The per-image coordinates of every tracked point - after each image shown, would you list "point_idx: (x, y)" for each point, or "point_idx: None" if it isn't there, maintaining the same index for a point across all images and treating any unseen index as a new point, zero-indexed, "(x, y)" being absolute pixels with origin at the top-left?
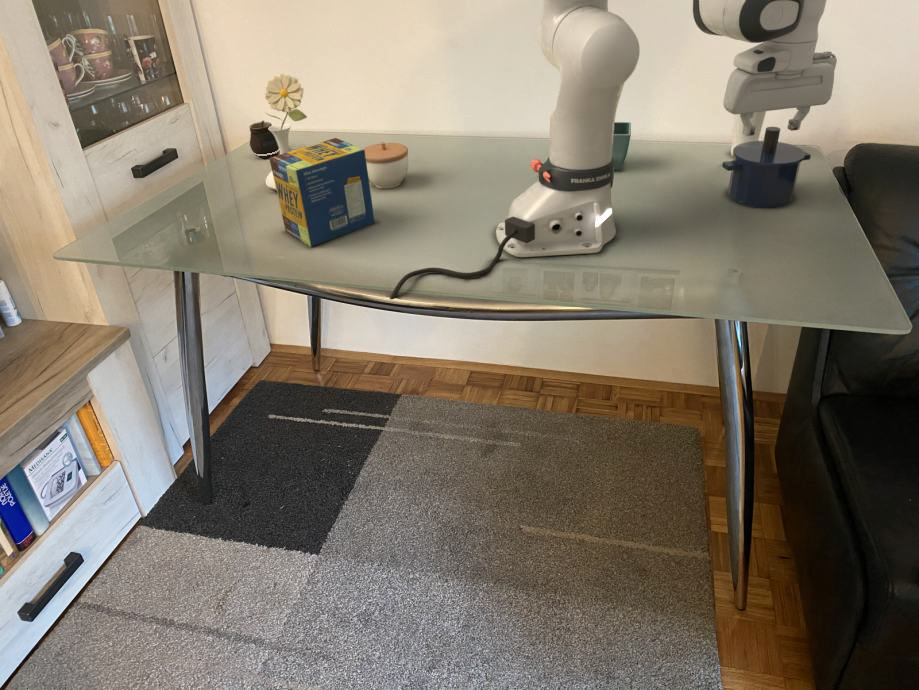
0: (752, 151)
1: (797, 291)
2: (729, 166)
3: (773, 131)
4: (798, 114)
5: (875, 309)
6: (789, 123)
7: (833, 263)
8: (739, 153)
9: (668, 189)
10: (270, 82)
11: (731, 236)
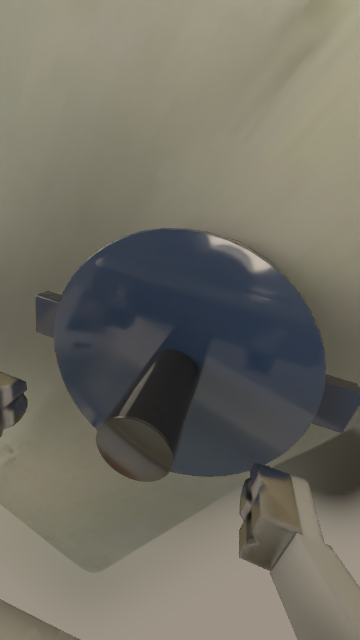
0: (125, 334)
1: (47, 507)
2: (38, 332)
3: (113, 465)
4: (318, 614)
5: (90, 558)
6: (256, 499)
7: (119, 509)
8: (71, 320)
9: (38, 146)
10: None
11: (49, 396)
